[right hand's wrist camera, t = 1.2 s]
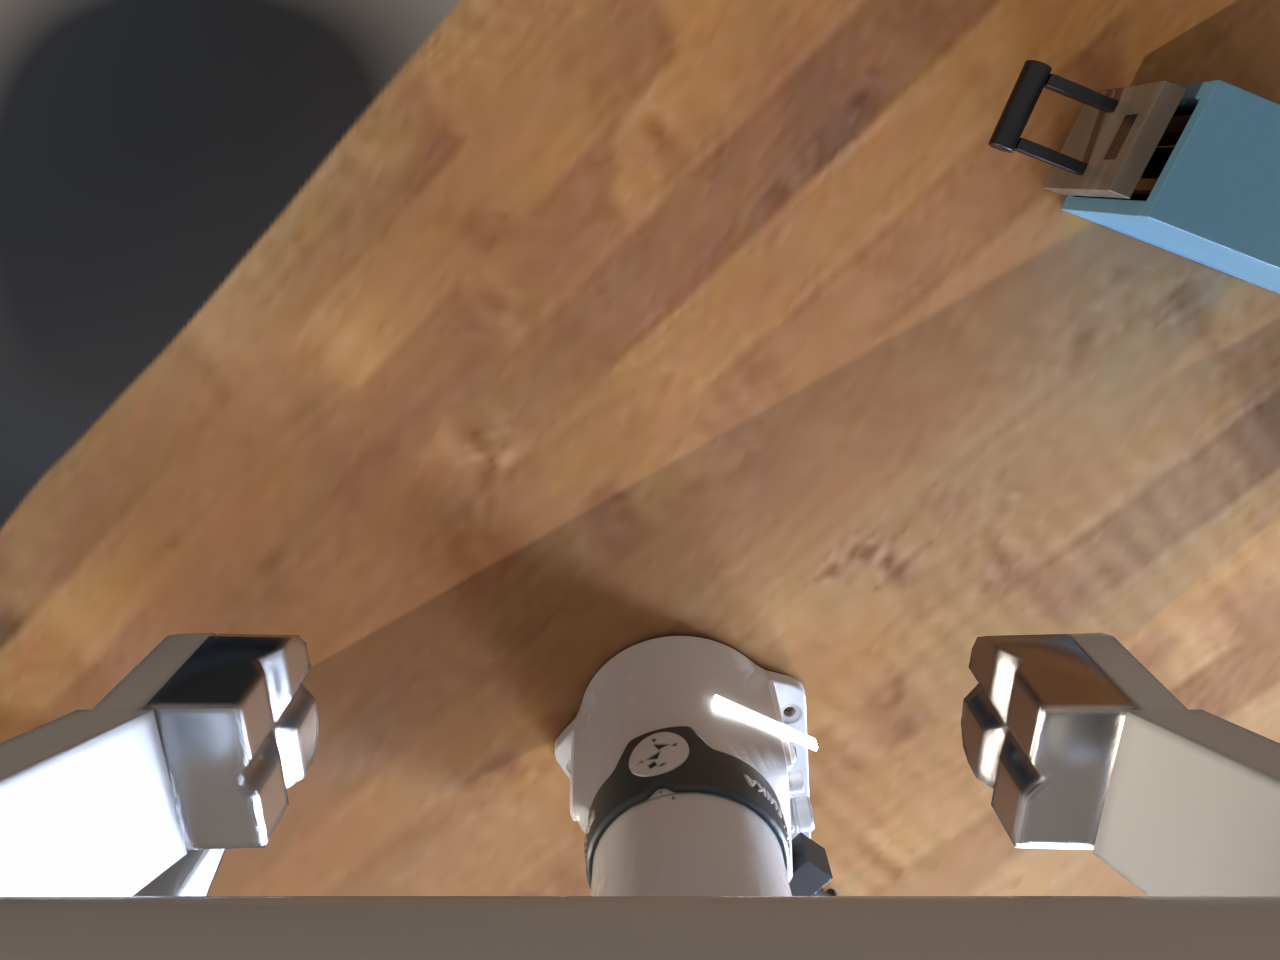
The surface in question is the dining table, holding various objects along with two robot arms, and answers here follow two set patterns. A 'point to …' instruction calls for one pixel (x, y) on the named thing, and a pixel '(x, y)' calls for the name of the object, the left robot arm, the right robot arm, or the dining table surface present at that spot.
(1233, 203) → the light blue box block
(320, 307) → the dining table surface
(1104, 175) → the drawer
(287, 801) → the right robot arm
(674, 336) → the dining table surface
